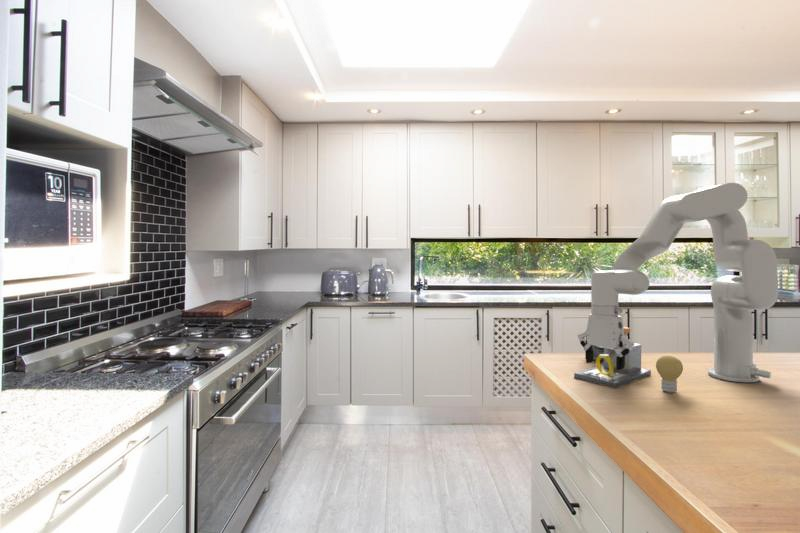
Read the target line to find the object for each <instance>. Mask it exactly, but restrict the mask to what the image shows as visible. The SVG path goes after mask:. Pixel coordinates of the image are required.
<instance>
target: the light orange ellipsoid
mask: <svg viewBox="0 0 800 533" xmlns="http://www.w3.org/2000/svg"><path fill="white" fill-rule="evenodd" d="M623 327H624V337H625V338H627V339H628V334H629V333H631V328H630V327H626V326H623ZM625 345H626V344H625Z"/></svg>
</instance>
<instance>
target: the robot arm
mask: <svg viewBox="0 0 800 533" xmlns="http://www.w3.org/2000/svg"><path fill="white" fill-rule="evenodd" d="M747 200H748V191H747V189H746V188H745V186H743V185H742V184H740V183H737V182H725V183H721V184H720V183H719V184H716V185H711V186H710V185H709V186H706V187H702V188H698V189H697V190H694V191H693V192H688V193H682V194H680V195H679V194H677V195H673V196H670V197H668V198H665V199H664V200H663V201H662V202H661V203H660V204H659V206H658V208H656V210H655V212H654V214H653V215H652V217H651V219H650V220H649V221H648V223H647V225H646V227H645V228H644V230H643V231H642V232H641V234H640V236H639V237H638V238H637V239H636V240H634V241H633V242H632V243H631V244H630V245H629V246H628V247H627V248H626V249H625V250H624V251H622V252H621V254H619V255H618V257H617V259H616V260H615V262H614V263H613V264H612V266H611V267H610V270H595V271H593V272H592V273H591V277H590V278H591V279H590V280H591V281H590V282H591V283H590V284H591V287H590V288H591V289H590V290H591V291H590V292H591V295H590V296H591V299H590V302H591V305H590V306H591V308H590V309H591V311H590V313H589V315H588V319H587V326H586V330H587V332H586V331H585V332H582V333H580V334H577V338H578V341H579V343H580V345H581V347H583V350H584V352H585V355H584V356H585V363H586V364H591V363H594V362H593V359H594V351H593V350H592V348H593V347H594V346H596V347H602V348H608V349H614V350H615V352H616V353H617V354H618V356H617V357H616V369H617V370H621V369H623V368H624V367H625V356H626V355H627V354H628V353H629V352H631V349H632V348H633V346H634V343H635V342H633V341H631V340H630V339H628V337H627V338H625V337H624V327H625V326H624V323H623V318H622V316H621V315H619V314H622V313H623V311H624V310H623V308H621V307H620V305H619V295H620V294H624V295H632V296H635V295H641V294H643V293H645V292H646V291H647V290H648V288H649V287H650V278H649V276H647V274H645V273H644V272H643V271H640V270H639V268H640V267H641V266H642V265H644V264H645V263H646V262H647V261H649V260H650V259H651V260H652V259H653V258H656V257H658V256H660V255H661V254H663V253H665V252H666V251H667V250H669V248H670V247H671V246H672V244H673V242H674V241H675V239H676V238H677V236H678V234H679V233H680V231H681V229H682V228H683V226H684V225H685V224H686V223H694V222H699V221H704V220H706V221H707V222H708V224H709V226H710V228H711V234H712V242H713V243H712V244H713V258H714V263H715V265H716V267H717V268H719V269H720V270H723V271H726V272H739V273H741V275H734V274H733V275H732V274H731V275H723V276H721V277H718V278H716V279H715V280H714V282H713V283H712V285H711V288H710V297H711V301H712V305H713V316H714V321H713V322H714V325H713V327H714V328H713V330H714V331H713V333H714V334H713V335H714V336H713V339H714V340H713V342H714V343H713V367H712V368H709V369H708V370H707V374H708V375H709V376H711V377H713V378H715V379H719V380H723V381H729V382H734V383H756V382H759V381H760V377H762V378H765V379H771V378H772V372H771V371H768V370H766V369H759V368H758V367H757V363H754V318H753V315H752V312H751V310H755V311H756V310H757V311H762V310H763V311H764V310H768V309H770V308H771V307H773V306H774V305H775V303H776V302H777V300H778V297H779V277H778V275H779V274H778V263H777V254H776V253H775V250H774V248H773V247H772V246H771V245H770V244H769V243H768V242H766V241H763V240H762V239H761V240H760V239H749V233H748V227H747V222H746V219H745V217H744V215H743V214H742V213H741V211H740V209H741V208H743V207H744V206H745V205H746V203H747ZM586 336H587V342H586ZM625 344H626V345H627V347H626V349H623V347H624V345H625Z"/></svg>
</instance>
